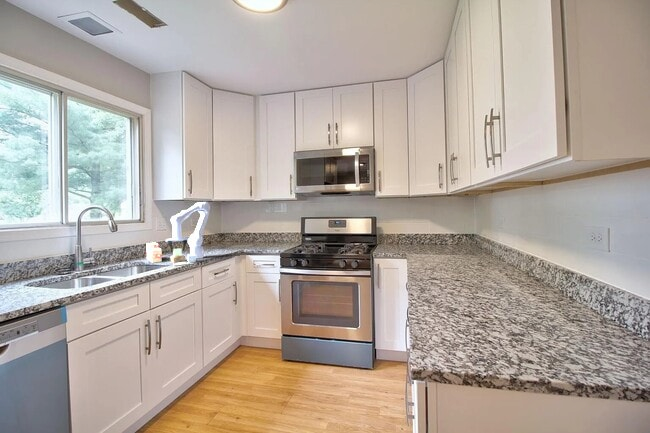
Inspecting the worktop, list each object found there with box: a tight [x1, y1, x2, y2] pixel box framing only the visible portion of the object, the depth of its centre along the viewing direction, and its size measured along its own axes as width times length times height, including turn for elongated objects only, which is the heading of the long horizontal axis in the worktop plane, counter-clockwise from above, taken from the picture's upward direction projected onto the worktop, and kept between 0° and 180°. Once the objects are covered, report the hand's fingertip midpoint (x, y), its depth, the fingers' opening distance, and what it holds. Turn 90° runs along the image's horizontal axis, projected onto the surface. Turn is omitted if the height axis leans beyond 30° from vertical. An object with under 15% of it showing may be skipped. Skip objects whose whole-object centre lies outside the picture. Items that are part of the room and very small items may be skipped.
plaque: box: [172, 261, 190, 267], centre depth 201 cm, size 9×9×1 cm
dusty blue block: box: [186, 254, 197, 263], centre depth 211 cm, size 5×5×5 cm
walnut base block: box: [170, 254, 186, 264], centre depth 214 cm, size 8×8×4 cm
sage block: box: [172, 248, 183, 257], centre depth 214 cm, size 5×5×5 cm
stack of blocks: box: [146, 242, 163, 264], centre depth 218 cm, size 21×6×12 cm, turn 40°
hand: (177, 251), depth 214 cm, fingers open, 7 cm apart
